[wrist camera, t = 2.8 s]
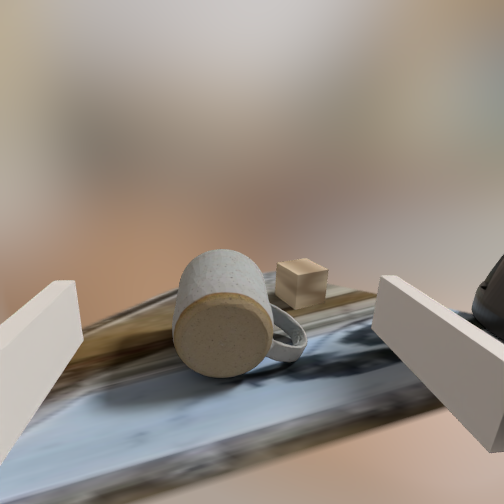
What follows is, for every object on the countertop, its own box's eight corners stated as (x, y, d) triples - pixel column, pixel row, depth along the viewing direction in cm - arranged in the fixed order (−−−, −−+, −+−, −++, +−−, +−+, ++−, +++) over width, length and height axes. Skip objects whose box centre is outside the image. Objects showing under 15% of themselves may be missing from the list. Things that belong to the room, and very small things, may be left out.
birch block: (302, 289, 38) (305, 258, 36) (324, 303, 34) (328, 269, 33) (275, 295, 36) (276, 262, 34) (295, 310, 32) (298, 275, 31)
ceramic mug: (170, 390, 21) (166, 287, 19) (180, 325, 29) (178, 247, 26) (319, 382, 22) (333, 285, 20) (291, 322, 30) (299, 248, 28)
